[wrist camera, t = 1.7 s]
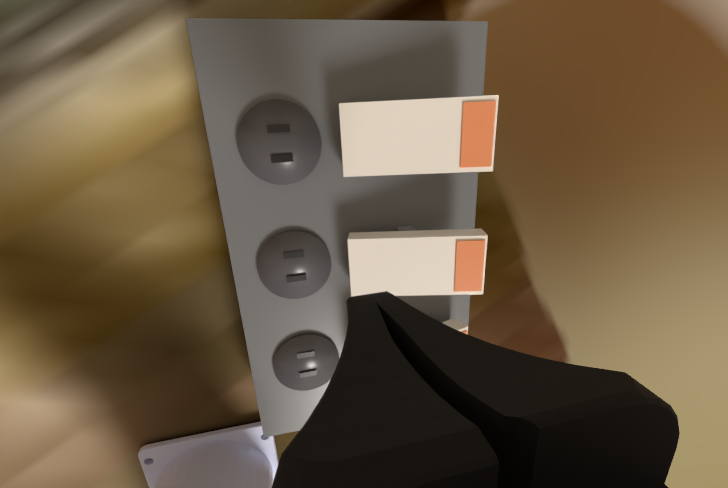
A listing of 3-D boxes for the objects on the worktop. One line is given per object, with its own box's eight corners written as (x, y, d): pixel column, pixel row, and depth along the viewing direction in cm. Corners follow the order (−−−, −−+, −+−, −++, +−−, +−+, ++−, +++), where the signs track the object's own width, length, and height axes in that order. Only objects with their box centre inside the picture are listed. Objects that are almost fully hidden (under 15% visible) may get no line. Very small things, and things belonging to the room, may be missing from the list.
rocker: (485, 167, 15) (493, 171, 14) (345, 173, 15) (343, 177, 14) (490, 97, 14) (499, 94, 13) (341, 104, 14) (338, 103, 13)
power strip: (439, 360, 24) (469, 403, 20) (267, 392, 22) (263, 448, 18) (450, 41, 18) (497, 16, 14) (206, 40, 15) (179, 11, 12)
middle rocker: (477, 284, 16) (483, 294, 15) (352, 286, 17) (351, 297, 16) (481, 228, 15) (488, 235, 14) (349, 232, 16) (347, 239, 15)
